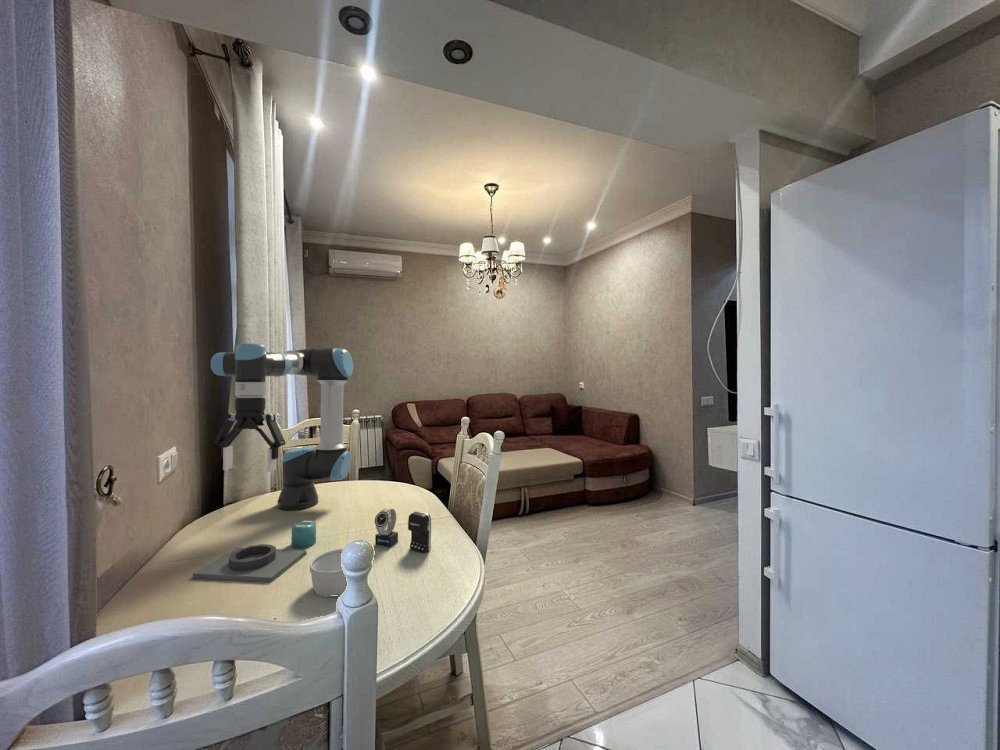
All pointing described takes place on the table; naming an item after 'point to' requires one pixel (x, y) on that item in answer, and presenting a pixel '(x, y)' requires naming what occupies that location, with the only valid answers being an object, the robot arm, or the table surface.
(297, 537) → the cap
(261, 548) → the plate with oval ring
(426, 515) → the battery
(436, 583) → the table surface
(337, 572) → the ramekin
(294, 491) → the robot arm
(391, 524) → the watch
